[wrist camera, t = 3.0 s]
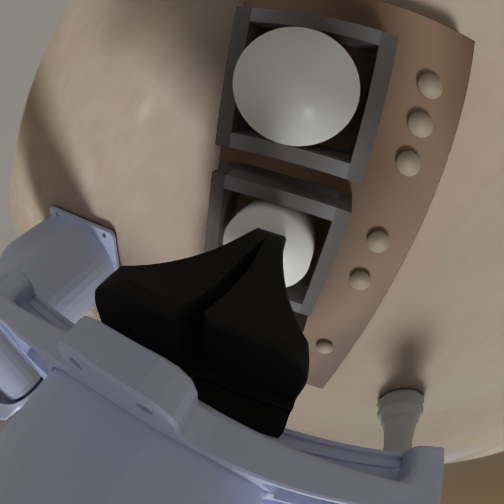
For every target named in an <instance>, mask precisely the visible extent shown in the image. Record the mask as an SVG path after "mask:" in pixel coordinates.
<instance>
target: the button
mask: <svg viewBox="0 0 504 504" xmlns="http://www.w3.org/2000/svg"><path fill="white" fill-rule="evenodd" d="M233 93H234V98H235V102H236V105H237V107H238V109H239V111H240V113H241V115H242V116H243V118H244V119H245V120H246V122H247V123H248V124H249V125H250V126H251V127H252V128H253V129H254V130H255V131H257V132H258V133H259V134H261V135H262V136H264V137H266V138H267V139H270V140H272V141H274V142H277V143H280V144H284V145H289V146H308V145H314V144H317V143H321V142H323V141H326V140H328V139H330V138H332V137H333V136H335V135H336V134H338V133H339V132H340V131H341V130H343V128H344V127H345V126H346V125H347V124H348V123H349V121H350V120H351V119H352V117H353V115H354V113H355V111H356V109H357V106H358V103H359V97H360V80H359V75H358V72H357V69H356V66H355V64H354V62H353V60H352V59H351V57H350V55H349V54H348V53H347V51H346V50H345V49H344V48H343V47H342V46H341V45H340V44H339V43H338V42H337V41H335V40H334V39H332V38H331V37H329V36H327V35H326V34H324V33H322V32H319V31H316V30H313V29H309V28H304V27H284V28H278V29H275V30H272V31H269V32H267V33H265V34H263V35H261V36H259V37H258V38H256V39H255V40H254V41H253V42H251V43H250V44H249V45H248V46H247V47H246V49H245V50H244V51H243V53H242V54H241V56H240V57H239V59H238V61H237V64H236V66H235V70H234V74H233Z"/></svg>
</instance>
